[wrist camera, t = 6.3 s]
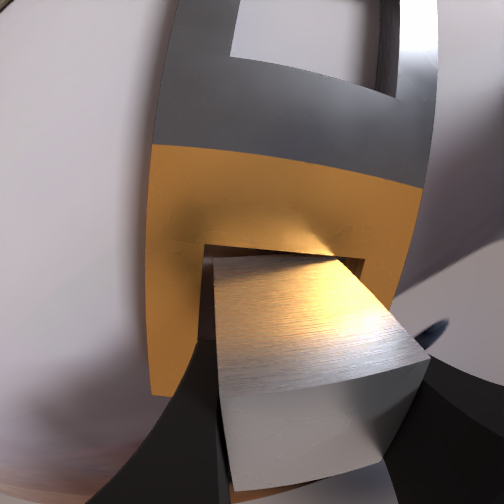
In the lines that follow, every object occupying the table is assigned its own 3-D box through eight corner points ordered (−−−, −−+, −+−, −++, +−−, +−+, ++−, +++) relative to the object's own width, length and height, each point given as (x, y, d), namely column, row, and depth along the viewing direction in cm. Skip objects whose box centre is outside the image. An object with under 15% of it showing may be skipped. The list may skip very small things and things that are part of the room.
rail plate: (415, -12, 8) (433, -22, 6) (342, 374, 14) (353, 394, 12) (209, -70, 6) (209, -90, 5) (155, 371, 12) (151, 394, 11)
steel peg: (329, 250, 10) (431, 357, 5) (319, 342, 12) (379, 461, 6) (213, 258, 10) (219, 397, 4) (221, 353, 11) (234, 491, 6)
